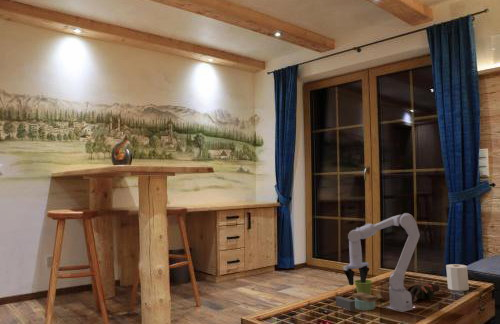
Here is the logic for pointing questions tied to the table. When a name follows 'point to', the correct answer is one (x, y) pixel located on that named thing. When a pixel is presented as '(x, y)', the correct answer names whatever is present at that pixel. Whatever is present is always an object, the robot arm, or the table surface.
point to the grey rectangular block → (345, 303)
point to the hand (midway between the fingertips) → (357, 283)
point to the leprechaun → (423, 291)
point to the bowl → (364, 305)
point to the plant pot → (363, 286)
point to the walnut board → (364, 297)
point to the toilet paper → (457, 277)
